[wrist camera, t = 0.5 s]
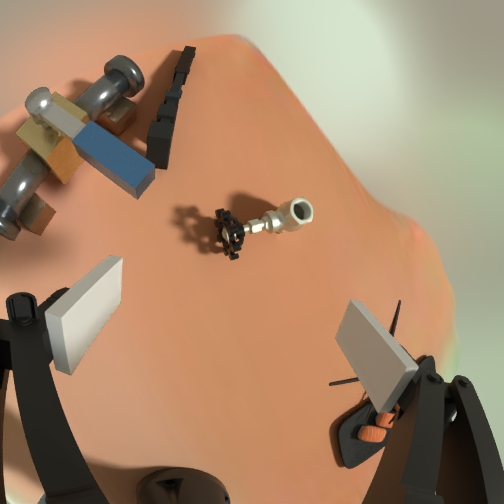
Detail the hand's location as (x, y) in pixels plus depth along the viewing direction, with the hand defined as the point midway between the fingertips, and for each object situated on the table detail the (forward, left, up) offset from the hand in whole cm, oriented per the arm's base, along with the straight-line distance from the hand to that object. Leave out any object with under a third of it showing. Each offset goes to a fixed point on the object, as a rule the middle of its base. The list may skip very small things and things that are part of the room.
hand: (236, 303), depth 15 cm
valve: (+13, -3, -22) cm, 26 cm away
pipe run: (+5, +26, -22) cm, 34 cm away
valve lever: (+5, +19, -10) cm, 22 cm away
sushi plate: (+4, -41, -23) cm, 47 cm away
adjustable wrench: (+22, +19, -22) cm, 37 cm away
